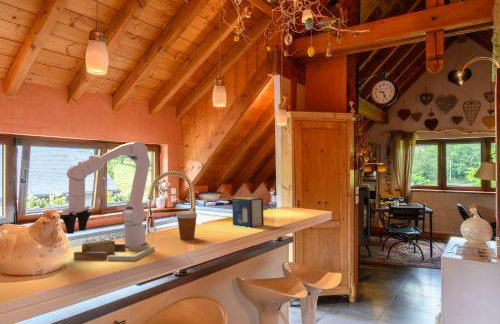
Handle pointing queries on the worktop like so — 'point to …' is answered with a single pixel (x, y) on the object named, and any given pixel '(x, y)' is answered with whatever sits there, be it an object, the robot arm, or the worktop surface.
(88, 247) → the stone block
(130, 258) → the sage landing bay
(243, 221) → the protein box
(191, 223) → the disposable coffee cup
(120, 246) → the walnut chute
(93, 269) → the worktop surface
